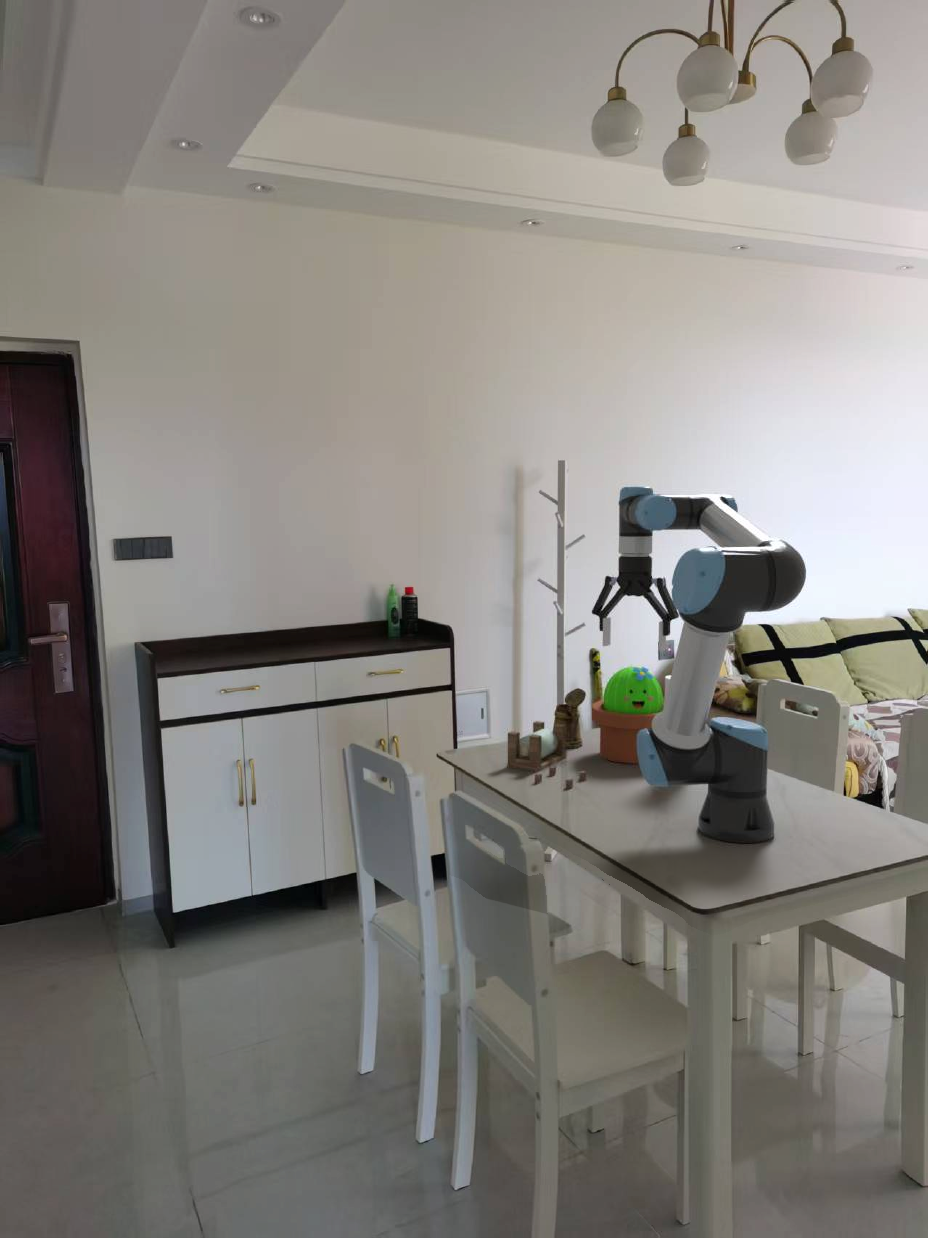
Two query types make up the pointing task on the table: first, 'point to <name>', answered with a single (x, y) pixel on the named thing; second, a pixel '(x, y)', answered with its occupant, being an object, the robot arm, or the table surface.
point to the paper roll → (547, 743)
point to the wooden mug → (570, 717)
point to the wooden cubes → (553, 771)
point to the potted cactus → (626, 712)
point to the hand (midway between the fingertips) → (633, 647)
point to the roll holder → (535, 749)
